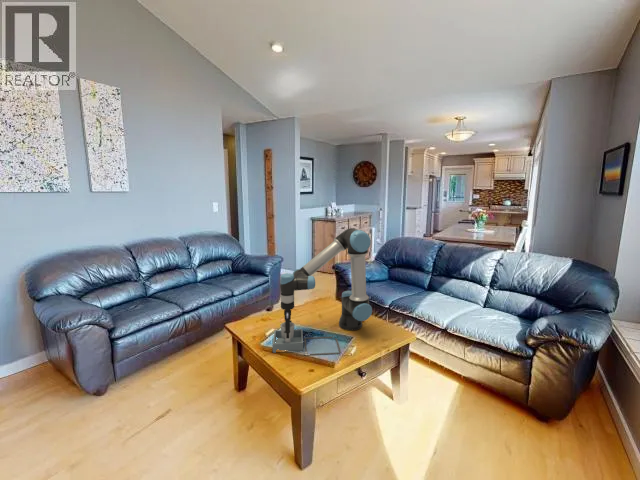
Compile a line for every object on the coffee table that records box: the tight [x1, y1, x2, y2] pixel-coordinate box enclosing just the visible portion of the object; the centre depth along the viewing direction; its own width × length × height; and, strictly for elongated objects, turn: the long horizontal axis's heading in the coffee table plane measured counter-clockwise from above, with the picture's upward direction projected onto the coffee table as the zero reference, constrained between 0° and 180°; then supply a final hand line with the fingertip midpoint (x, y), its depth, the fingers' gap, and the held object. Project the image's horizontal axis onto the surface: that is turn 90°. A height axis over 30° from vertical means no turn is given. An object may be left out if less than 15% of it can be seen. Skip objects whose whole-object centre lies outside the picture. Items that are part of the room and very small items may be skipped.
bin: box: [272, 328, 304, 354], centre depth 177 cm, size 17×17×5 cm
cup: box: [280, 322, 295, 339], centre depth 176 cm, size 11×8×8 cm
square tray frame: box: [303, 336, 342, 356], centre depth 176 cm, size 21×21×2 cm
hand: (288, 338), depth 177 cm, fingers closed on cup, 11 cm apart
